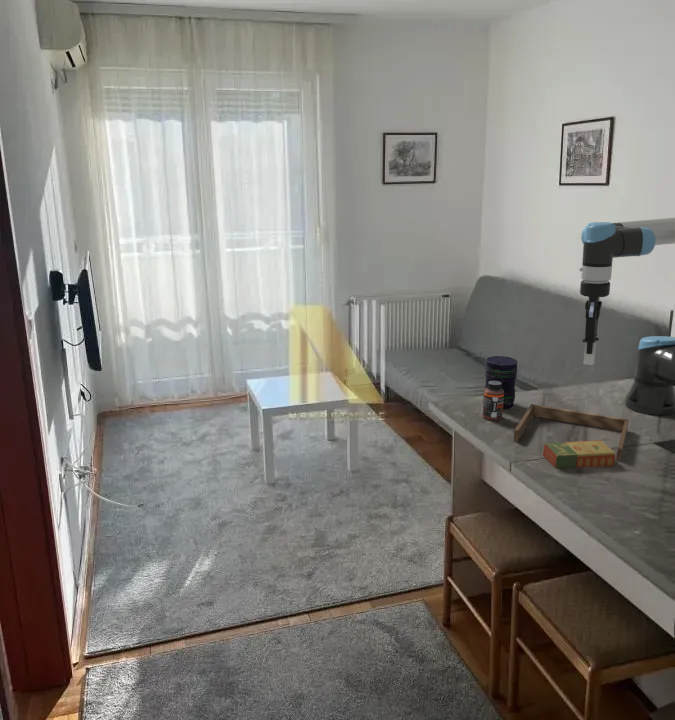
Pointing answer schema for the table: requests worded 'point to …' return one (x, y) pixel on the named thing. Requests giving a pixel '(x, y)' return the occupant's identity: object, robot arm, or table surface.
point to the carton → (579, 454)
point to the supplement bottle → (493, 401)
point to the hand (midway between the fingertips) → (588, 363)
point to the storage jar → (503, 376)
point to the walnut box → (574, 421)
